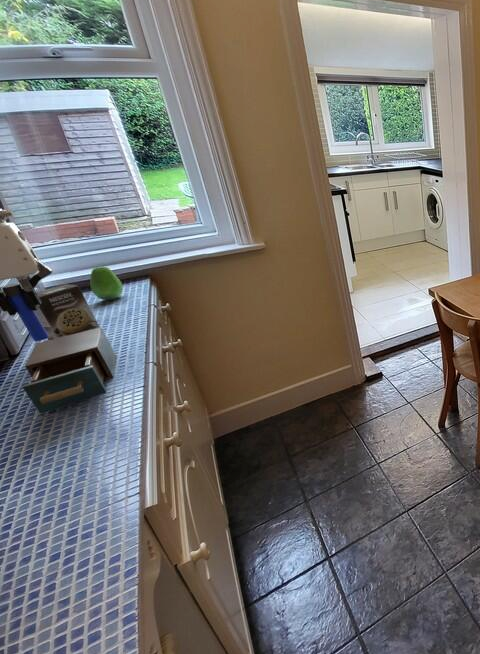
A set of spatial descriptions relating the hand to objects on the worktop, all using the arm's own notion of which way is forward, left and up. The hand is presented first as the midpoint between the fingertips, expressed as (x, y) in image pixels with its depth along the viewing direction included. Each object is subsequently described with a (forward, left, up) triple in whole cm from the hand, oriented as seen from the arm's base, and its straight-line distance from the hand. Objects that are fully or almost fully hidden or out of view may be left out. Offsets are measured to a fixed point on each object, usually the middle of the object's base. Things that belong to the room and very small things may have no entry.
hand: (24, 310), depth 83 cm
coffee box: (+13, +33, -22) cm, 41 cm away
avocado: (+34, +65, -22) cm, 76 cm away
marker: (0, 0, -7) cm, 7 cm away
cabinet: (+5, +10, -22) cm, 24 cm away
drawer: (0, -1, -21) cm, 21 cm away
